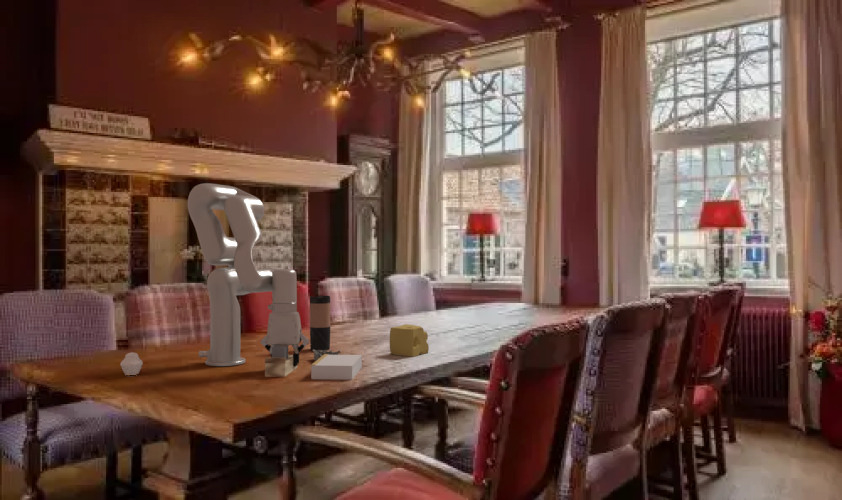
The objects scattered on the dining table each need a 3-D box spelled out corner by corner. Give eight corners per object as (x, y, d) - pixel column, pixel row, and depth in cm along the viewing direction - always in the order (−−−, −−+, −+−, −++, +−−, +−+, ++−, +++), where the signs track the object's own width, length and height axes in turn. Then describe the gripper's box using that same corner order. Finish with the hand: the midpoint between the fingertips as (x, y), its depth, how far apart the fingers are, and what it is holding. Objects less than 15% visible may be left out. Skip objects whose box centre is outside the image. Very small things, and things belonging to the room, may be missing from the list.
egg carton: (341, 363, 216) (341, 351, 216) (319, 365, 213) (319, 352, 213) (333, 358, 225) (333, 346, 225) (311, 359, 222) (312, 347, 222)
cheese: (428, 353, 235) (428, 325, 235) (412, 357, 226) (412, 329, 226) (405, 350, 240) (405, 324, 240) (388, 354, 231) (388, 327, 231)
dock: (311, 379, 188) (311, 364, 188) (324, 367, 207) (324, 354, 207) (352, 379, 187) (352, 365, 187) (361, 367, 206) (361, 354, 206)
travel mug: (328, 351, 239) (328, 297, 239) (308, 351, 239) (308, 297, 239) (331, 347, 247) (331, 295, 247) (311, 347, 247) (311, 295, 247)
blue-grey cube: (271, 360, 197) (271, 347, 197) (275, 358, 201) (275, 345, 201) (284, 360, 196) (284, 347, 196) (288, 358, 200) (288, 345, 200)
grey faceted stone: (145, 372, 197) (145, 350, 197) (139, 376, 191) (140, 353, 191) (123, 373, 196) (123, 350, 196) (117, 377, 190) (117, 353, 190)
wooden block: (265, 376, 192) (264, 358, 192) (278, 367, 207) (278, 350, 207) (284, 376, 192) (284, 358, 191) (297, 367, 206) (297, 350, 206)
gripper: (253, 309, 200) (254, 367, 200) (309, 309, 199) (309, 368, 199) (261, 307, 207) (261, 363, 207) (314, 307, 206) (314, 363, 206)
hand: (285, 365), depth 203 cm, fingers closed on wooden block, 6 cm apart
